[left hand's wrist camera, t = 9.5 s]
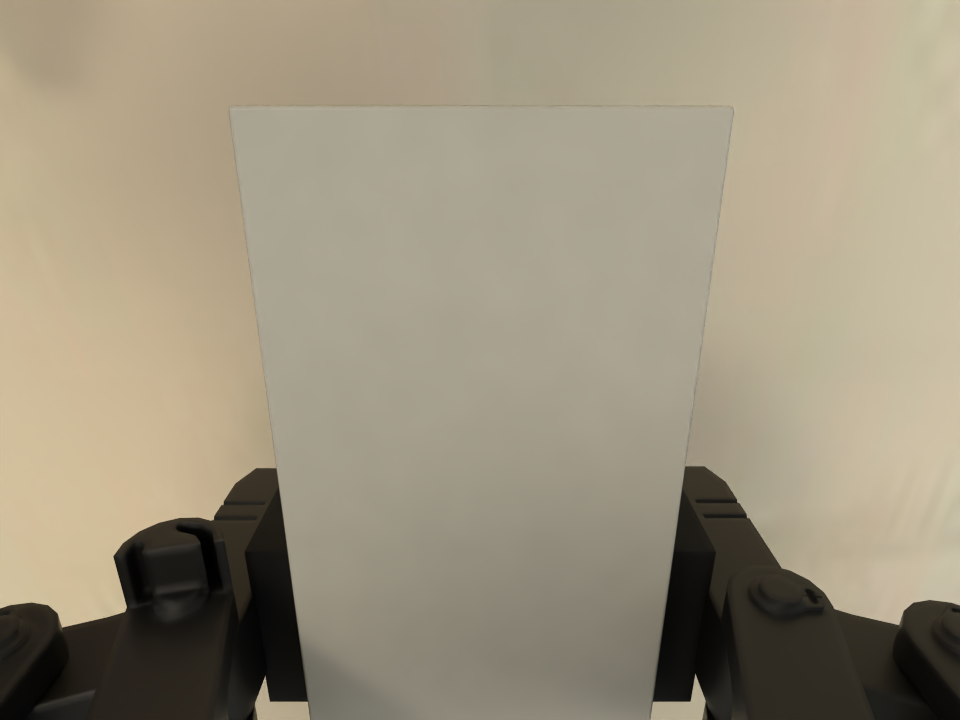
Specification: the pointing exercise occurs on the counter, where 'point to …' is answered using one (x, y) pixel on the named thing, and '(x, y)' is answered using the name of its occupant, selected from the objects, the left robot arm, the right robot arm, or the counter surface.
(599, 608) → the beam
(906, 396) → the counter surface
